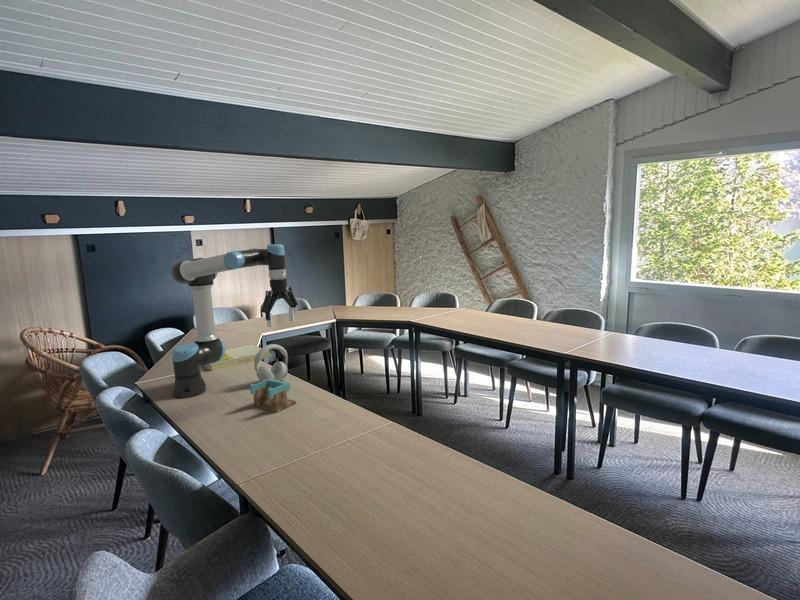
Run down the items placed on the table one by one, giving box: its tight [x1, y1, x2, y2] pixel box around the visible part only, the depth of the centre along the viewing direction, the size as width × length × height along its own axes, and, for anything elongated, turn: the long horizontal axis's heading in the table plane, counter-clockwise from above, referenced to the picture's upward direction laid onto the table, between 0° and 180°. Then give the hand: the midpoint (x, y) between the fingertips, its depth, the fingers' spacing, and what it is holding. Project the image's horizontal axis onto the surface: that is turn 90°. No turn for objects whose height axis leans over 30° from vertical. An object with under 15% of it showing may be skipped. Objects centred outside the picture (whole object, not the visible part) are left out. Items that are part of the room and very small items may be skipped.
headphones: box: [253, 343, 289, 382], centre depth 238 cm, size 18×10×20 cm, turn 137°
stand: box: [252, 386, 297, 413], centre depth 209 cm, size 11×15×8 cm
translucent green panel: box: [203, 344, 270, 372], centre depth 281 cm, size 36×5×24 cm
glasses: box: [249, 378, 291, 399], centre depth 206 cm, size 12×13×4 cm
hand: (281, 324), depth 215 cm, fingers open, 13 cm apart
